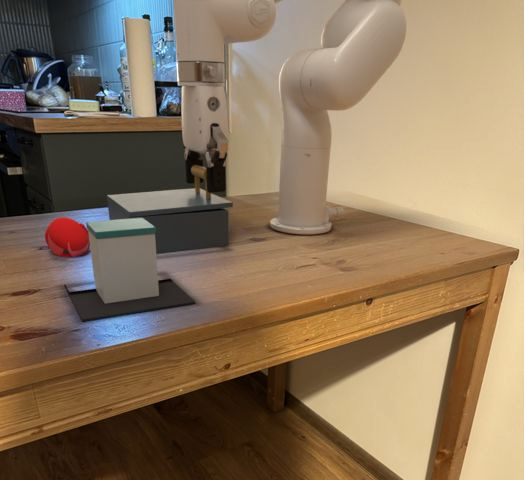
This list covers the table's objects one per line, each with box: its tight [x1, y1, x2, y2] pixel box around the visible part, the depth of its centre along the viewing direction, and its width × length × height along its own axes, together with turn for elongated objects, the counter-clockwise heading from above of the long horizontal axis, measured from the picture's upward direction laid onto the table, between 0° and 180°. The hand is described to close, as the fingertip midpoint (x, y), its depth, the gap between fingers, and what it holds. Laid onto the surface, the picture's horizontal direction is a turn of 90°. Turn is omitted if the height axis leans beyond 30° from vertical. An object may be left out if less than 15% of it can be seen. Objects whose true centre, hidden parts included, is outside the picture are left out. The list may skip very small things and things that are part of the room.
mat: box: [63, 278, 196, 323], centre depth 66 cm, size 14×13×1 cm
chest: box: [107, 200, 229, 255], centre depth 87 cm, size 17×15×7 cm
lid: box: [106, 165, 234, 217], centre depth 84 cm, size 17×15×6 cm
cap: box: [44, 216, 91, 258], centre depth 79 cm, size 8×6×6 cm
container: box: [85, 218, 159, 304], centre depth 64 cm, size 7×6×9 cm
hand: (205, 187), depth 87 cm, fingers open, 9 cm apart
